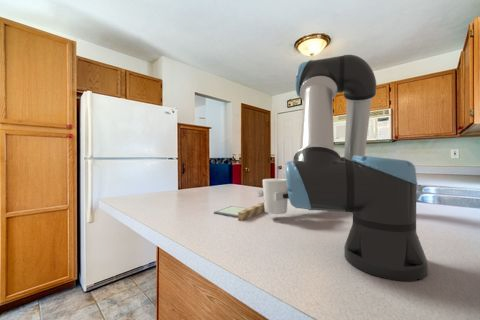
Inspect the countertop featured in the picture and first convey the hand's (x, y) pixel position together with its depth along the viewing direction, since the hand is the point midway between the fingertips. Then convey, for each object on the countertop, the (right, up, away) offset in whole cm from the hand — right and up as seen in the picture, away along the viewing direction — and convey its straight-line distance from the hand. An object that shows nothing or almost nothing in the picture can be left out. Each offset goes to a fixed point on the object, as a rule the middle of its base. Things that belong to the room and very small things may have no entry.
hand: (266, 194), depth 80 cm
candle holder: (+4, -7, +3) cm, 8 cm away
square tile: (-12, -9, +13) cm, 20 cm away
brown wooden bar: (-4, -9, +9) cm, 13 cm away
